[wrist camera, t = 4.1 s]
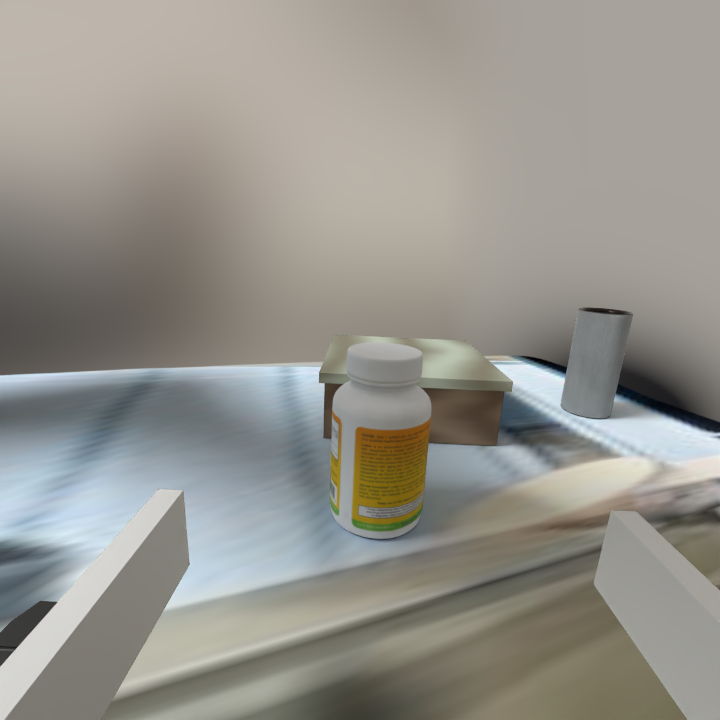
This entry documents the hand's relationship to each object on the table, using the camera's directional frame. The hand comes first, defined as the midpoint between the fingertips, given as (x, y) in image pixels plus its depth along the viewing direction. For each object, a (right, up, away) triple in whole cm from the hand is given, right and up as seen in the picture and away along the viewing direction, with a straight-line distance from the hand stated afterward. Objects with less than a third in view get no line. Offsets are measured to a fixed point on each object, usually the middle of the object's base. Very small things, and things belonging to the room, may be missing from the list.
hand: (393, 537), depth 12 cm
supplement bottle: (0, -4, +11) cm, 12 cm away
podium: (+3, +1, +26) cm, 26 cm away
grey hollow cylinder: (+22, 0, +28) cm, 36 cm away
